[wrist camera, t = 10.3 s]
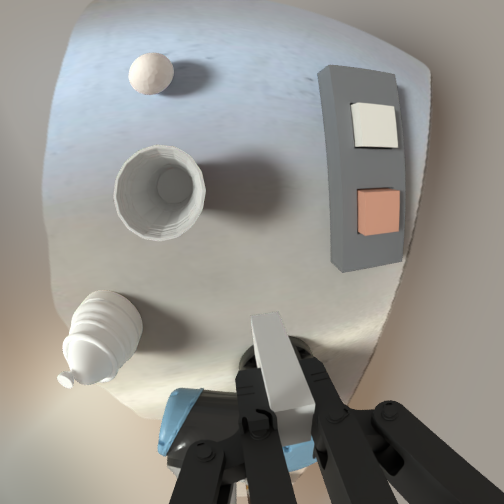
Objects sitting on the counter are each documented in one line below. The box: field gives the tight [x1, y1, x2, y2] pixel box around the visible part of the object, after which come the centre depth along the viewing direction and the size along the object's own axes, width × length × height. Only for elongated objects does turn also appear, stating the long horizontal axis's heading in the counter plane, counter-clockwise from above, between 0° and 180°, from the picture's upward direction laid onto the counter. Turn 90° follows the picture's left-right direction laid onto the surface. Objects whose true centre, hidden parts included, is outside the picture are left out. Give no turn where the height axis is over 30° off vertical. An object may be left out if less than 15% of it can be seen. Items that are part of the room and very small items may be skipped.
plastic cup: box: [113, 145, 206, 241], centre depth 34 cm, size 11×11×12 cm
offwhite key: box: [350, 103, 398, 148], centre depth 35 cm, size 6×6×4 cm
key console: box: [317, 65, 405, 273], centre depth 39 cm, size 32×12×5 cm, turn 6°
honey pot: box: [57, 290, 143, 388], centre depth 37 cm, size 13×13×18 cm
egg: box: [129, 53, 174, 95], centre depth 30 cm, size 6×6×8 cm
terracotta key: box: [357, 187, 400, 236], centre depth 39 cm, size 6×6×4 cm
